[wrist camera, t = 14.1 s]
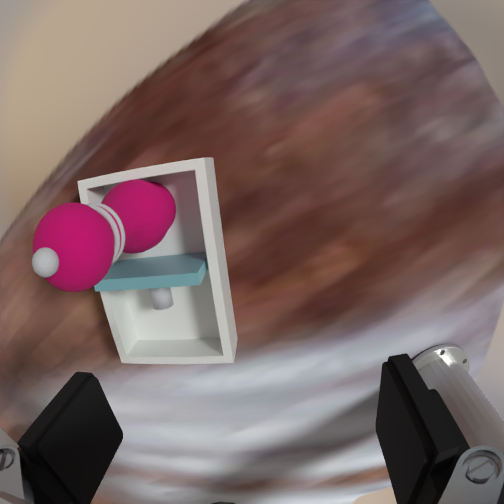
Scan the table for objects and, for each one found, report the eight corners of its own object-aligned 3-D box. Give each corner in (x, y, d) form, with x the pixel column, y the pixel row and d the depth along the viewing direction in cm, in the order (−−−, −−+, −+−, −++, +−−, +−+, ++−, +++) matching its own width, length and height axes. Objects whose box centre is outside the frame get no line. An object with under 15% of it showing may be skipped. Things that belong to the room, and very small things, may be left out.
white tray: (237, 339, 40) (233, 362, 35) (135, 342, 41) (122, 363, 36) (213, 157, 34) (204, 157, 29) (99, 177, 35) (77, 181, 30)
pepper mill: (110, 215, 35) (-12, 272, 16) (143, 163, 33) (19, 179, 14) (157, 253, 36) (62, 345, 17) (193, 202, 34) (108, 259, 15)
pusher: (216, 292, 37) (205, 320, 30) (128, 297, 38) (104, 322, 31) (210, 251, 36) (197, 272, 29) (119, 260, 36) (92, 280, 30)
